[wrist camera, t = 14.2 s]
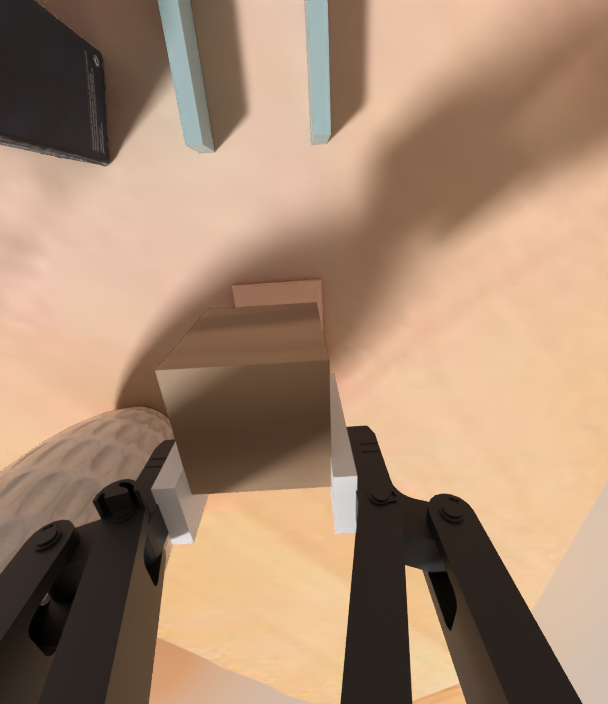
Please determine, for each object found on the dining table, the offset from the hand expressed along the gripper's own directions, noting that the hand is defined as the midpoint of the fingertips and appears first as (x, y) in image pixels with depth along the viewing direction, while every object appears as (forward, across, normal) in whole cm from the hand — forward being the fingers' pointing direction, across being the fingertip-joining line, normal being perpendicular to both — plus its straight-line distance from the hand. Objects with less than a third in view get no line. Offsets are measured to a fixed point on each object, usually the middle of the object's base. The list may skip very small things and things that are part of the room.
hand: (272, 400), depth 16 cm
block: (0, 0, +2) cm, 3 cm away
